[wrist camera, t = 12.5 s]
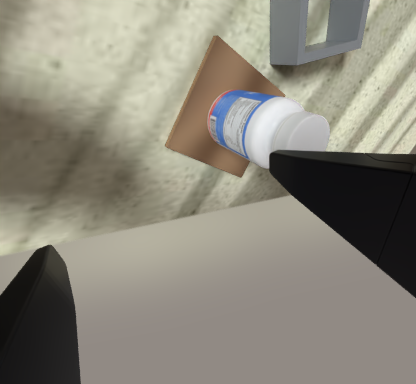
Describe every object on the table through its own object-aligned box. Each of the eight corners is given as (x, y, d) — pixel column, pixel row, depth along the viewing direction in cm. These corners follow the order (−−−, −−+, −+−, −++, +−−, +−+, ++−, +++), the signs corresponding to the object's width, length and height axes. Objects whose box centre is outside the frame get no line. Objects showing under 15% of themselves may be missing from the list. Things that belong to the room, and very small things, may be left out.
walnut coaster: (164, 145, 22) (167, 147, 21) (213, 35, 20) (217, 35, 19) (238, 175, 28) (241, 177, 28) (281, 94, 26) (285, 95, 25)
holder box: (270, 64, 23) (297, 65, 21) (270, -58, 19) (305, -77, 16) (330, 48, 26) (360, 48, 24) (343, -61, 22) (384, -78, 19)
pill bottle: (260, 106, 24) (348, 128, 17) (234, 153, 25) (307, 192, 18) (223, 75, 21) (314, 85, 14) (195, 130, 22) (264, 167, 15)
